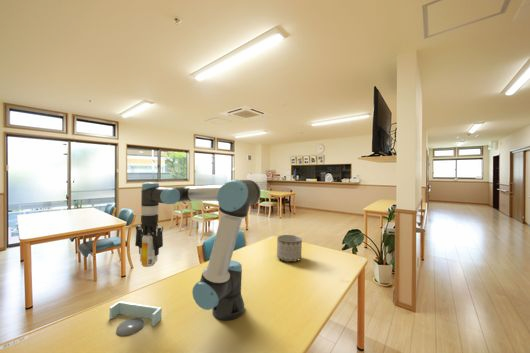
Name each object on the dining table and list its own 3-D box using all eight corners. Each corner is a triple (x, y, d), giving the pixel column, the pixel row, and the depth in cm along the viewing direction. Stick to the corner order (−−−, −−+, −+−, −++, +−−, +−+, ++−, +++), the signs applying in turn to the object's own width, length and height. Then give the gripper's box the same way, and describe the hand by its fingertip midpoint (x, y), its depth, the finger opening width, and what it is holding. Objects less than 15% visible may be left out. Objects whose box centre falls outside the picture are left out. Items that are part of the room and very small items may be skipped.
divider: (161, 318, 97) (161, 307, 97) (153, 326, 92) (154, 314, 92) (118, 311, 101) (119, 301, 101) (109, 318, 96) (109, 307, 96)
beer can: (152, 261, 111) (153, 232, 111) (157, 264, 107) (158, 234, 107) (139, 265, 106) (140, 234, 106) (144, 268, 102) (145, 236, 102)
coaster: (149, 321, 95) (149, 319, 95) (131, 337, 85) (131, 336, 85) (129, 317, 97) (129, 316, 97) (109, 333, 87) (109, 332, 87)
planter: (303, 264, 162) (303, 242, 162) (277, 263, 162) (277, 241, 162) (299, 254, 181) (299, 235, 181) (276, 254, 182) (276, 234, 182)
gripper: (171, 213, 108) (170, 260, 108) (138, 211, 112) (137, 256, 112) (162, 216, 101) (161, 266, 101) (126, 214, 104) (125, 262, 104)
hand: (148, 261), depth 106 cm, fingers closed on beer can, 6 cm apart
